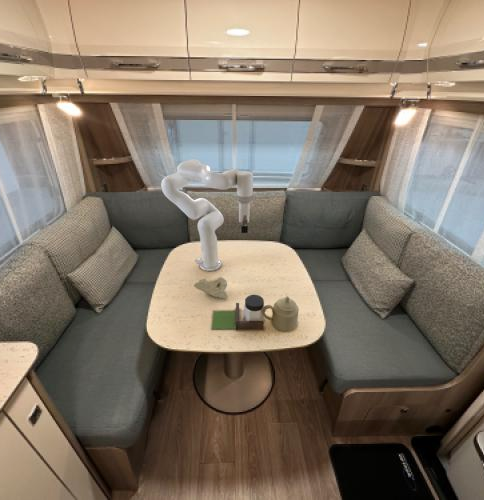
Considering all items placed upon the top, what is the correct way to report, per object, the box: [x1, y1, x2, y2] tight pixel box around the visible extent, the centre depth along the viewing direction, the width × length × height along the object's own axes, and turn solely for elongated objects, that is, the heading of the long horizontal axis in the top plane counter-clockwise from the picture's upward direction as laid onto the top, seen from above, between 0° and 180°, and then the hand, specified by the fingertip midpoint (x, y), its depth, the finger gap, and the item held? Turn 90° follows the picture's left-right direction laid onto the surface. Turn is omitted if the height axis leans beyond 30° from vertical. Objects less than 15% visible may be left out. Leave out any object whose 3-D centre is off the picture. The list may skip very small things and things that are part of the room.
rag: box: [211, 310, 236, 330], centre depth 121 cm, size 10×11×1 cm
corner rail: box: [235, 302, 265, 331], centre depth 121 cm, size 12×13×4 cm
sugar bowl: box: [263, 295, 300, 332], centre depth 115 cm, size 15×11×15 cm
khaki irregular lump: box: [193, 276, 228, 300], centre depth 136 cm, size 15×7×15 cm
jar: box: [243, 294, 266, 322], centre depth 118 cm, size 9×8×12 cm
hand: (244, 232), depth 138 cm, fingers closed
